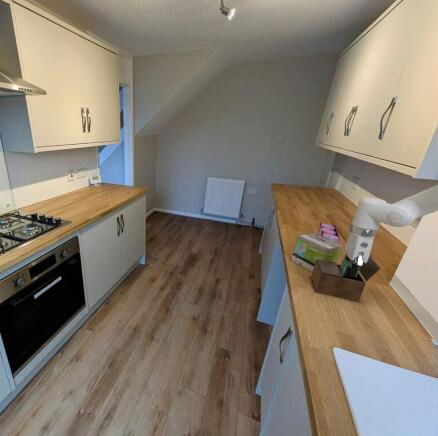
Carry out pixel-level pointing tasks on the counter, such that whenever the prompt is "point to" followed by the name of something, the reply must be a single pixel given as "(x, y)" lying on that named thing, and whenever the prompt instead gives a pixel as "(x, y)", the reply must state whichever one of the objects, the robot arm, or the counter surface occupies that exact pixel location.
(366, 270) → the flap
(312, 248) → the tea box
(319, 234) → the gum box
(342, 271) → the block
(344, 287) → the carton
